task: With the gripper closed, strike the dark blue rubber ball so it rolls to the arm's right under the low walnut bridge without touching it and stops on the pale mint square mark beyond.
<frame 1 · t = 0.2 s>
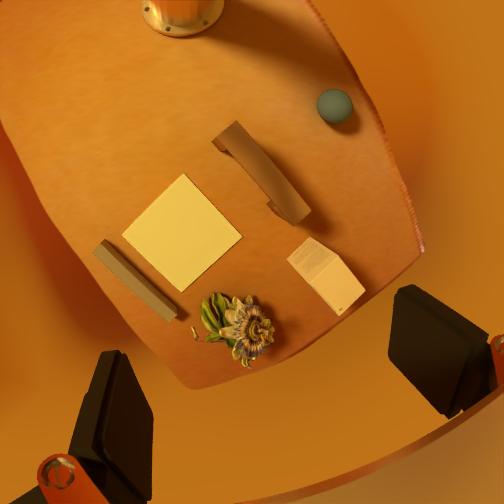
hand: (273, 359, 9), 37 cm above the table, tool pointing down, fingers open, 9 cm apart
passion flower: (232, 317, 51), on the table
bridge: (251, 171, 44), on the table
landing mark: (181, 235, 45), on the table
grey square bar: (137, 278, 45), on the table
small box: (311, 262, 51), on the table
ball: (334, 106, 41), on the table
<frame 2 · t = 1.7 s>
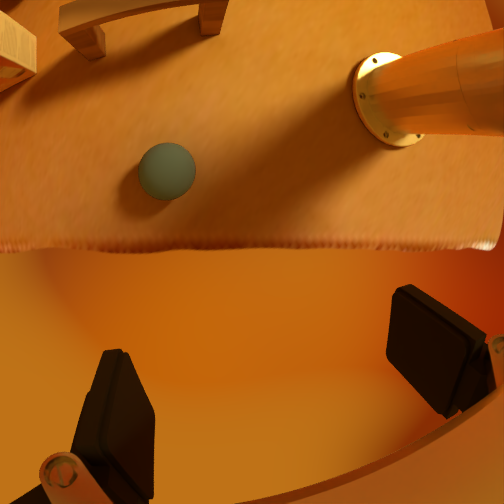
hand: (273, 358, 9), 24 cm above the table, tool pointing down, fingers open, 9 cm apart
bridge: (151, 33, 25), on the table
small box: (12, 68, 22), on the table
ball: (166, 171, 27), on the table
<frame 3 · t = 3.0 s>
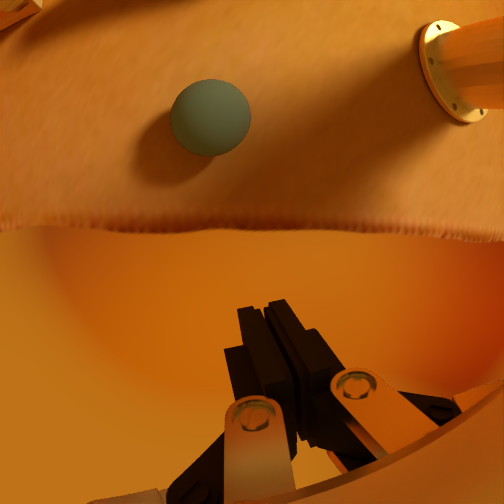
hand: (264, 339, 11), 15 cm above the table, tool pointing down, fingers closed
small box: (13, 7, 14), on the table
ball: (210, 117, 19), on the table
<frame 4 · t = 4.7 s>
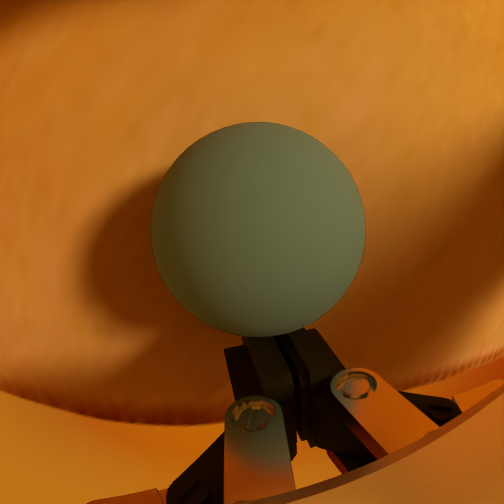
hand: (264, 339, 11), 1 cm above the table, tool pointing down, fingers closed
ball: (258, 229, 8), on the table
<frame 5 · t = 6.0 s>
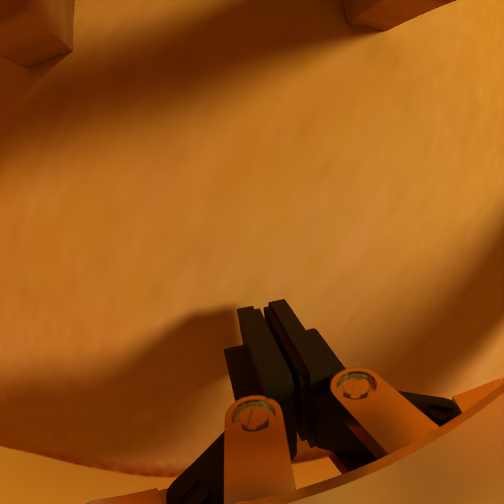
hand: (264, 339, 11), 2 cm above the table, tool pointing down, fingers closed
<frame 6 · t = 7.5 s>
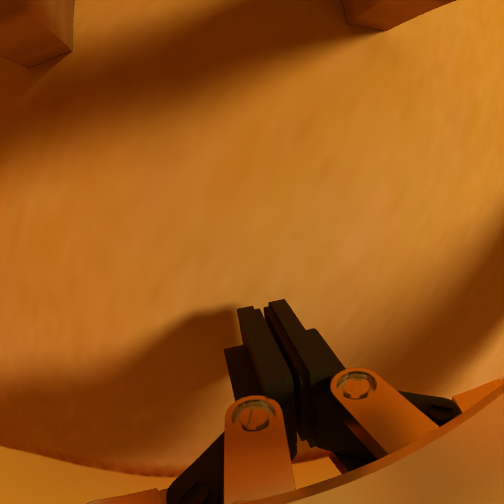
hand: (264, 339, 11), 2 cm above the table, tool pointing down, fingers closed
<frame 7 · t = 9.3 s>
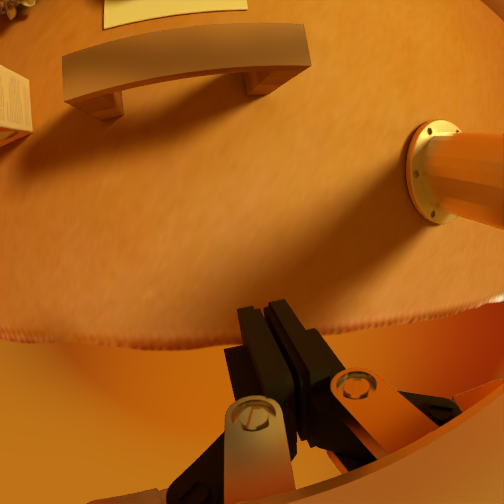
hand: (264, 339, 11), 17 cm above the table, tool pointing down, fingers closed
bridge: (183, 87, 22), on the table
small box: (1, 120, 19), on the table
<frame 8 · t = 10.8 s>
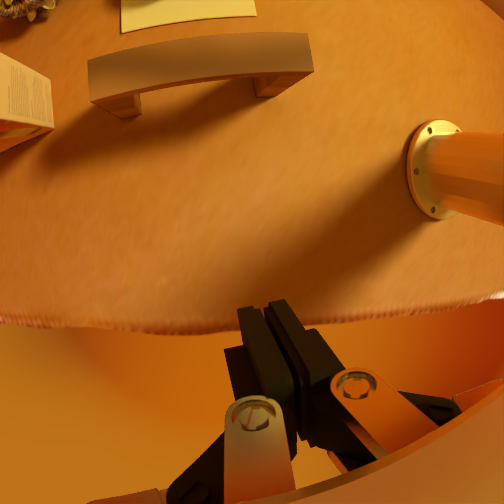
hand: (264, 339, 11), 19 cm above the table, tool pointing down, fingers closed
bridge: (196, 88, 24), on the table
small box: (22, 117, 21), on the table
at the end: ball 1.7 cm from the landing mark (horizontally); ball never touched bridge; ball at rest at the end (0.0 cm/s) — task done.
